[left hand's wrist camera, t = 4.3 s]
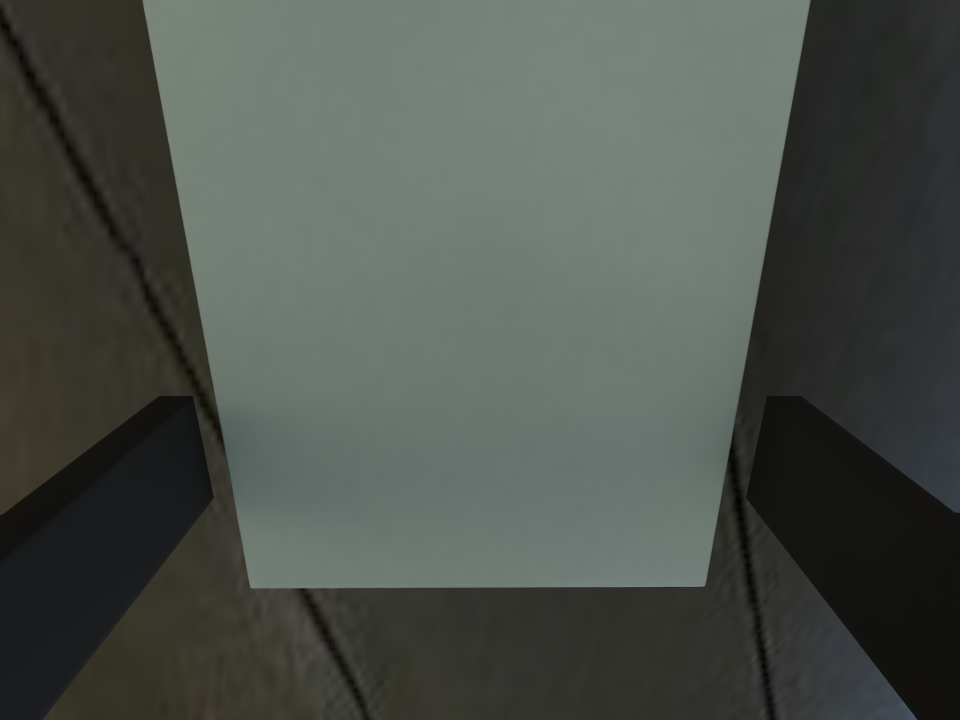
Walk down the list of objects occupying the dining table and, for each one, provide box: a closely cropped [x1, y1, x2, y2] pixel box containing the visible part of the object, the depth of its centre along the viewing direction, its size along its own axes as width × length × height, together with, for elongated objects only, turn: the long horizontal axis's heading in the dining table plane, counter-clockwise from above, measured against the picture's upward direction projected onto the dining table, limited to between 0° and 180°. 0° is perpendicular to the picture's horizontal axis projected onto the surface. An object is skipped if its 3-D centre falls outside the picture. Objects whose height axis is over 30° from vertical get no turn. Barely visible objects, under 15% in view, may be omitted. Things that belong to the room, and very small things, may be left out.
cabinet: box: [143, 0, 810, 588], centre depth 16 cm, size 18×11×11 cm, turn 0°
